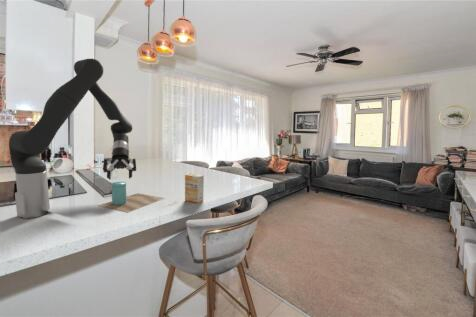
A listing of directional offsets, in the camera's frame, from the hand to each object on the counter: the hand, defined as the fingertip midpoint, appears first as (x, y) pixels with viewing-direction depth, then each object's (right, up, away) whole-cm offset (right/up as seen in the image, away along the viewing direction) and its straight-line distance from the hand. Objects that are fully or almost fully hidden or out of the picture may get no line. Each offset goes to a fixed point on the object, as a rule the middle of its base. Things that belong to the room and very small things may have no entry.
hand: (119, 178), depth 110 cm
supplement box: (+34, -12, +6) cm, 36 cm away
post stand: (+7, -12, -2) cm, 14 cm away
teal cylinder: (+2, -11, -4) cm, 12 cm away
